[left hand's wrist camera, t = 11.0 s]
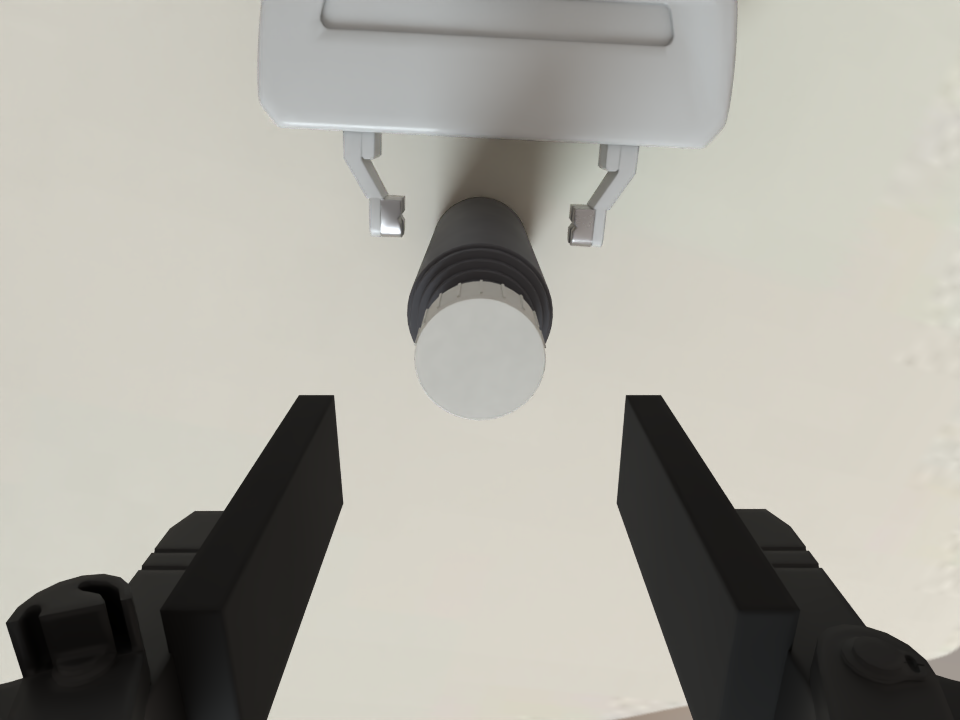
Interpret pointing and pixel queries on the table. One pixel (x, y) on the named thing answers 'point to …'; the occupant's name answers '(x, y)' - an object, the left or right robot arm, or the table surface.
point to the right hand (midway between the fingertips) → (486, 240)
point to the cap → (480, 351)
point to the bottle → (480, 259)
